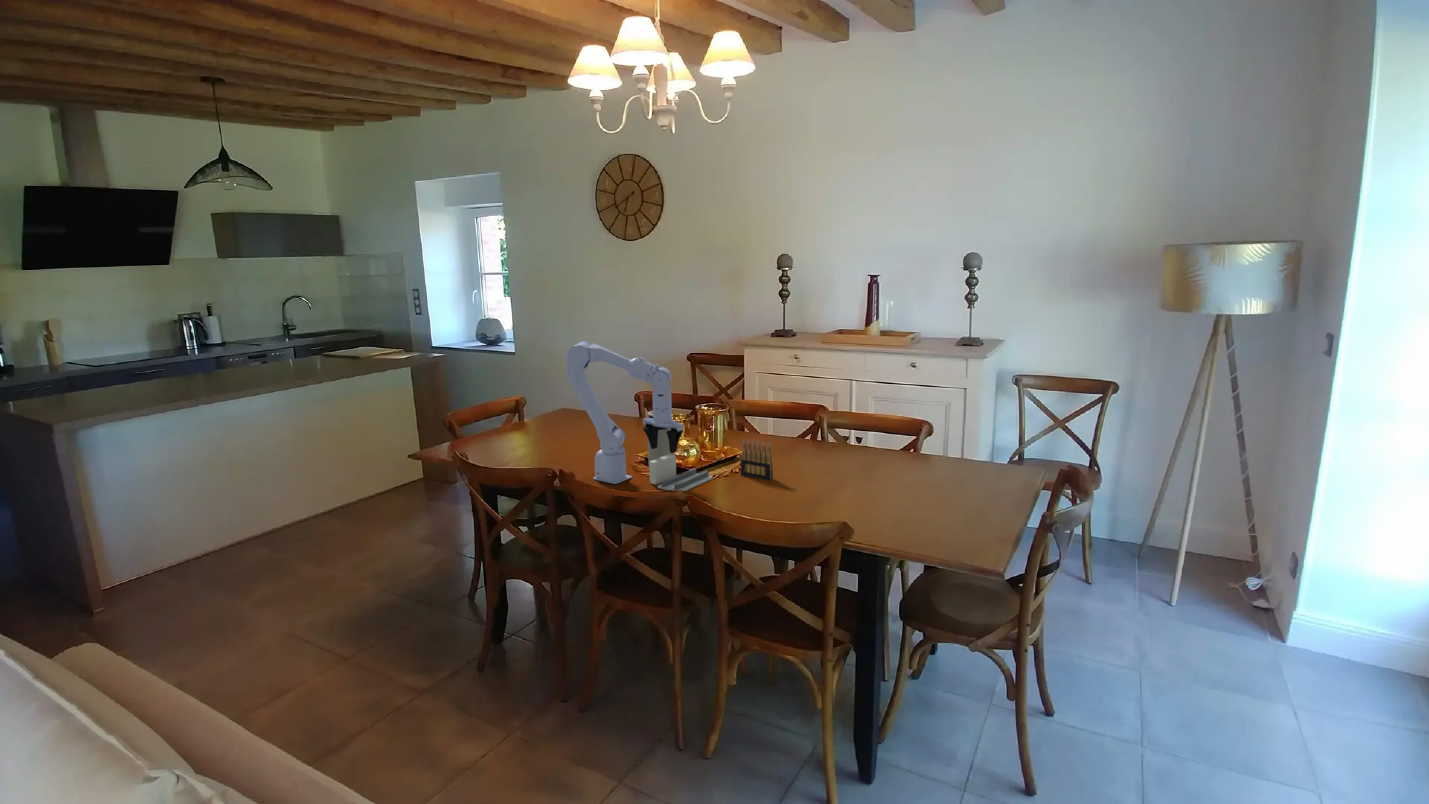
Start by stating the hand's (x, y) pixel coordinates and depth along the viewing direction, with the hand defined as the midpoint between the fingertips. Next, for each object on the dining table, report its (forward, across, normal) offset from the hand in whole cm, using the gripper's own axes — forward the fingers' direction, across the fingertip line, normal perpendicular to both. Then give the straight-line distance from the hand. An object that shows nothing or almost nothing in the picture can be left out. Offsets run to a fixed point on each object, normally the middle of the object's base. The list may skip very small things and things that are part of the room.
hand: (663, 450), depth 225 cm
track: (+10, -8, -1) cm, 12 cm away
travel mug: (+10, +10, -10) cm, 18 cm away
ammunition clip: (+10, -22, -18) cm, 30 cm away
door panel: (+10, 0, 0) cm, 10 cm away
